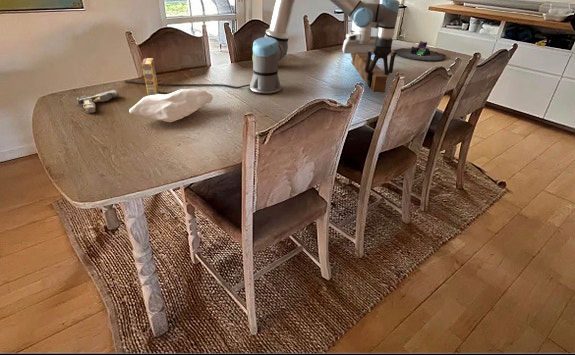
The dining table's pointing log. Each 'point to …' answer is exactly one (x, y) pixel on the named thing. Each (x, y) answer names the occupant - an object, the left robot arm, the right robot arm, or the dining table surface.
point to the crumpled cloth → (171, 104)
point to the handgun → (95, 100)
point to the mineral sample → (420, 53)
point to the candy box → (150, 76)
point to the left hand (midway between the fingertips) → (375, 87)
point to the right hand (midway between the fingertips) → (358, 61)
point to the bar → (378, 75)
